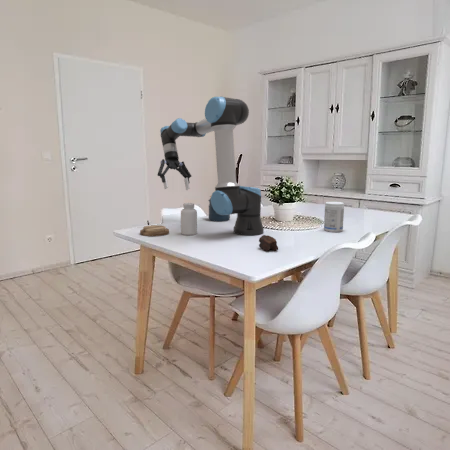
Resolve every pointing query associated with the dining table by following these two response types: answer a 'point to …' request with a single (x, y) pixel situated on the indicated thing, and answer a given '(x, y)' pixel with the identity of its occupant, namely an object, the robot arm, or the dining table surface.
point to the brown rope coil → (154, 230)
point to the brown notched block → (268, 243)
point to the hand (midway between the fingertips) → (177, 188)
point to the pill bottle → (188, 219)
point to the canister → (216, 214)
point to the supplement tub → (334, 216)
